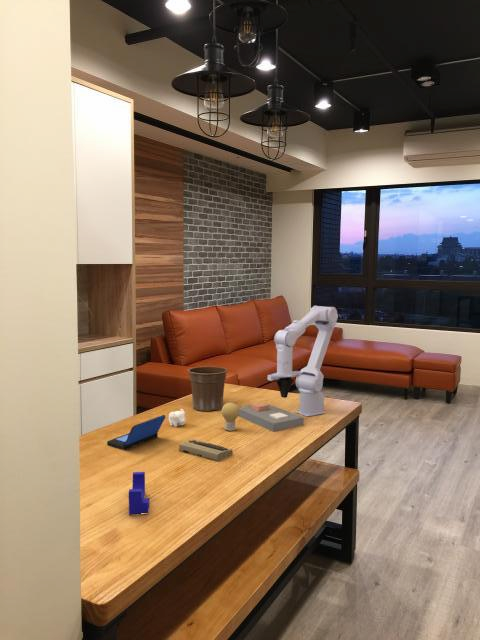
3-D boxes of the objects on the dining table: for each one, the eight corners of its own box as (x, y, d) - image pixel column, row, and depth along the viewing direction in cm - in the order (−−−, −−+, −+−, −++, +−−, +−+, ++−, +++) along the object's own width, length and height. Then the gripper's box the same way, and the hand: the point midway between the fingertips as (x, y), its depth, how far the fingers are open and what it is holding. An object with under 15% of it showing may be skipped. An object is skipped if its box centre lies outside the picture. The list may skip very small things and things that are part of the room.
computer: (233, 455, 169) (233, 445, 168) (217, 463, 162) (217, 452, 162) (194, 445, 178) (194, 436, 177) (178, 452, 171) (178, 442, 171)
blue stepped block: (148, 515, 128) (147, 491, 128) (129, 515, 128) (128, 491, 127) (150, 493, 140) (150, 471, 140) (133, 494, 140) (133, 472, 139)
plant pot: (193, 401, 231) (193, 365, 229) (229, 403, 229) (230, 366, 227) (184, 412, 215) (183, 373, 213) (223, 414, 213) (223, 374, 211)
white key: (279, 420, 203) (280, 412, 203) (288, 423, 199) (288, 415, 199) (269, 422, 201) (269, 414, 200) (277, 425, 196) (277, 417, 196)
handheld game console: (139, 433, 189) (138, 407, 188) (167, 440, 182) (166, 414, 181) (105, 445, 177) (104, 418, 176) (133, 454, 169) (133, 425, 168)
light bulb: (239, 427, 196) (240, 400, 194) (238, 433, 189) (238, 405, 188) (222, 426, 196) (222, 400, 195) (220, 432, 190) (220, 405, 189)
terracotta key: (261, 409, 213) (261, 402, 213) (268, 412, 209) (269, 404, 209) (251, 411, 210) (251, 403, 210) (258, 414, 206) (258, 406, 206)
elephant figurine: (178, 430, 192) (178, 414, 192) (162, 425, 197) (162, 410, 197) (190, 425, 198) (190, 409, 197) (175, 421, 203) (175, 406, 202)
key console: (265, 410, 219) (265, 402, 218) (303, 425, 199) (303, 417, 198) (236, 415, 211) (236, 408, 211) (273, 431, 191) (273, 423, 191)
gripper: (275, 365, 194) (275, 402, 195) (306, 361, 202) (305, 396, 203) (264, 362, 200) (264, 397, 201) (294, 358, 208) (293, 392, 209)
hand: (284, 397), depth 203 cm, fingers closed
